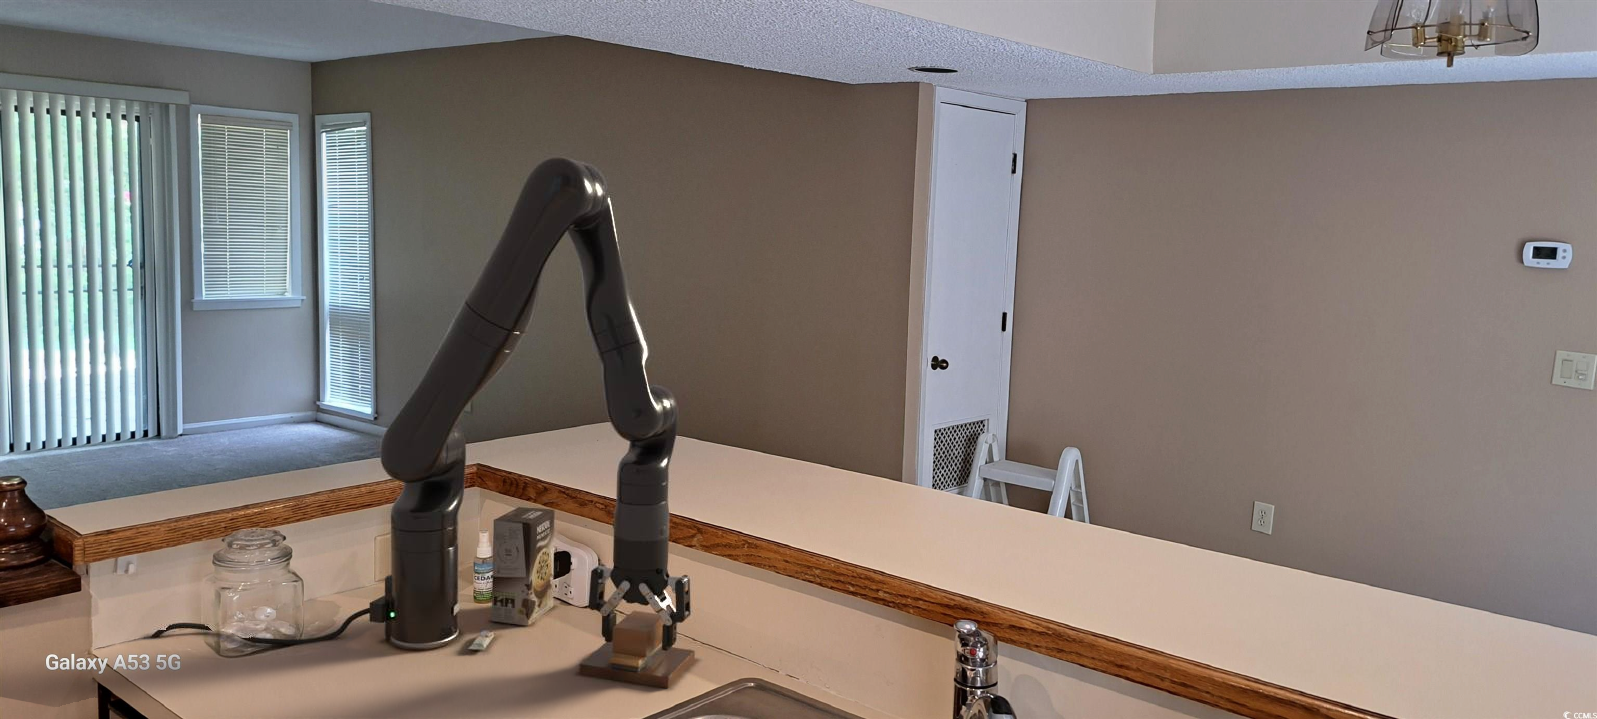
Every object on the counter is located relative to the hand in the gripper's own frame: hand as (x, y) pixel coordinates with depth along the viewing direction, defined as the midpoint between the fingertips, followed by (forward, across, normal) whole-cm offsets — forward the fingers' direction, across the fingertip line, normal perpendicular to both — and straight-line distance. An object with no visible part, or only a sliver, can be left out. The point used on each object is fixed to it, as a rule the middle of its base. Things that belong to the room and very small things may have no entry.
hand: (638, 644), depth 148 cm
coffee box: (+4, +25, -12) cm, 28 cm away
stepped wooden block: (+2, 0, 0) cm, 2 cm away
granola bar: (+3, +24, 0) cm, 24 cm away
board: (+3, 0, 0) cm, 3 cm away
